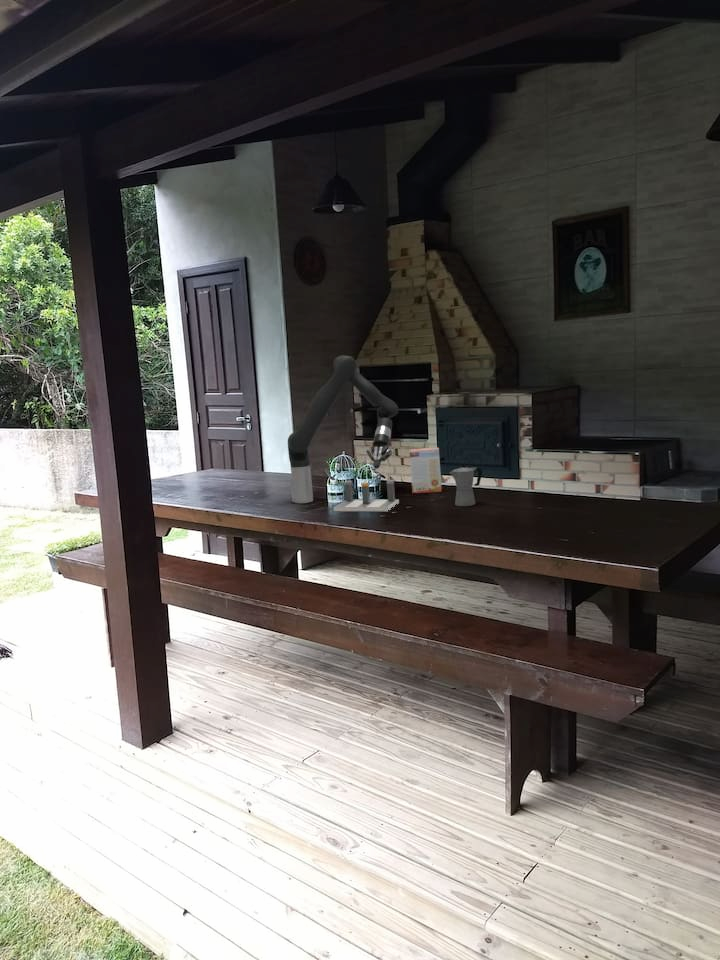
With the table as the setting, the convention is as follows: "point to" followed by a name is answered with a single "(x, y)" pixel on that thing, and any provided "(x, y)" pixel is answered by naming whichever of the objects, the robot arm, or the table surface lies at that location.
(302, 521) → the table surface
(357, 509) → the grey base with posts
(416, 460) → the cracker box
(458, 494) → the coffeepot
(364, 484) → the breaker
